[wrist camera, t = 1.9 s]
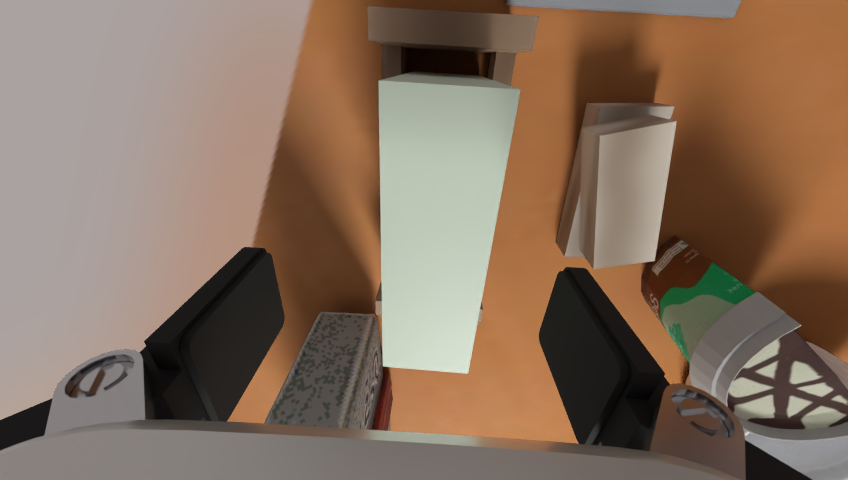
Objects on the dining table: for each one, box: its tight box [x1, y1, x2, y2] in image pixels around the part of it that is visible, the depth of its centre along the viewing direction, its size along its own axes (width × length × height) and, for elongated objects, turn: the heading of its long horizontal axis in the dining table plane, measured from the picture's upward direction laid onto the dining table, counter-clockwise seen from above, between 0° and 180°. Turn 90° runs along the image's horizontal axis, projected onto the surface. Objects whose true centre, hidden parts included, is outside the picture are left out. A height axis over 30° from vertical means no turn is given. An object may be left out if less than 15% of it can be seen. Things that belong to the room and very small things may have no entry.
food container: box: [641, 235, 848, 441], centre depth 22 cm, size 12×6×10 cm, turn 50°
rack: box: [367, 6, 539, 323], centre depth 20 cm, size 7×17×6 cm, turn 177°
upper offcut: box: [579, 114, 677, 269], centre depth 19 cm, size 4×8×2 cm, turn 12°
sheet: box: [379, 71, 520, 374], centre depth 17 cm, size 4×12×12 cm, turn 177°
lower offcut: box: [556, 103, 675, 257], centre depth 21 cm, size 4×10×2 cm, turn 1°
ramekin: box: [685, 341, 848, 480], centre depth 27 cm, size 13×13×7 cm
